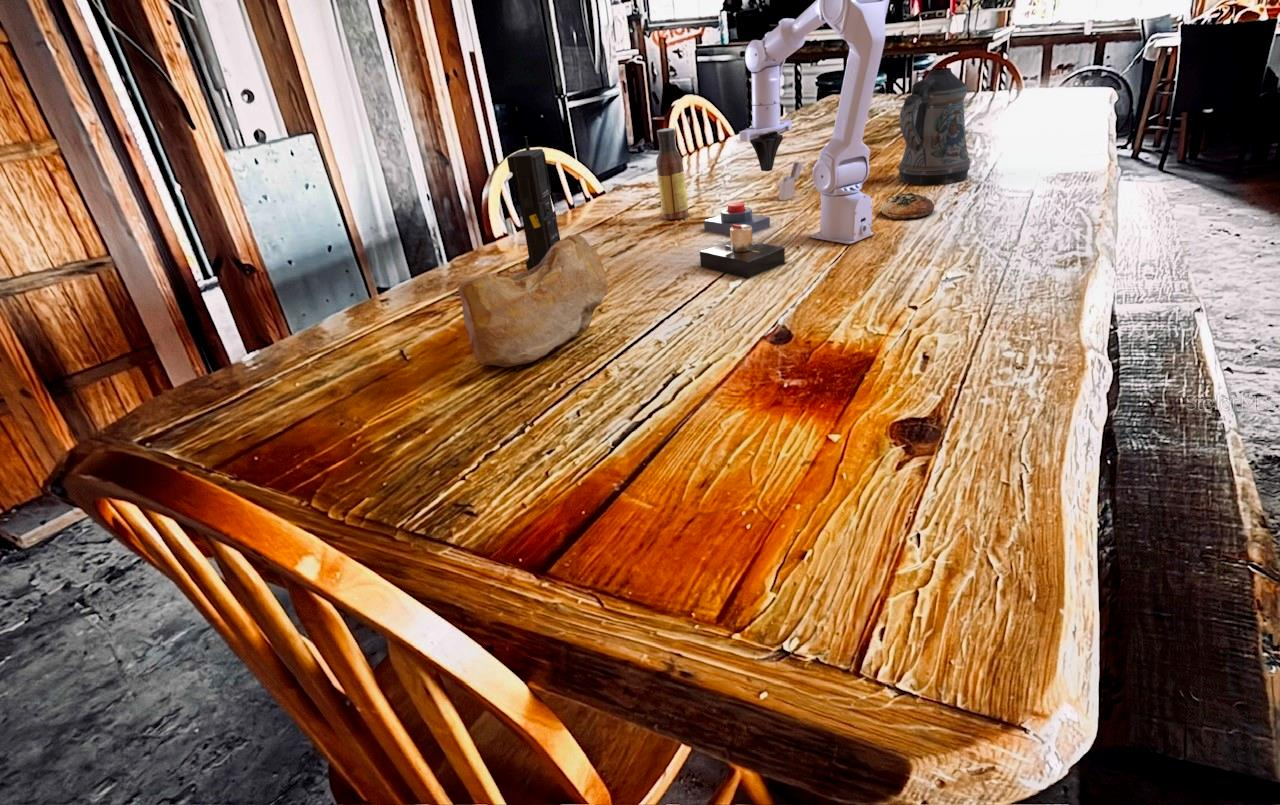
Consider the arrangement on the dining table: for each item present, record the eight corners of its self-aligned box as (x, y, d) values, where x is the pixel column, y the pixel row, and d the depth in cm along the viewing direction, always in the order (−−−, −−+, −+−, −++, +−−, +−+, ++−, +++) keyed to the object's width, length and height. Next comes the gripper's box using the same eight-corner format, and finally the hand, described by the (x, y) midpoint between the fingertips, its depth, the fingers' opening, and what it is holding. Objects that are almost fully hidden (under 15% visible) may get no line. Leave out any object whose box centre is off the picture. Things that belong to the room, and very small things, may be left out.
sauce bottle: (688, 213, 170) (683, 125, 160) (687, 219, 164) (682, 129, 155) (661, 215, 171) (654, 128, 161) (660, 221, 165) (652, 132, 156)
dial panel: (784, 263, 130) (784, 246, 128) (748, 278, 124) (747, 261, 123) (736, 253, 138) (736, 237, 137) (700, 266, 133) (699, 250, 131)
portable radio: (555, 278, 135) (533, 141, 124) (526, 278, 137) (501, 143, 125) (566, 265, 142) (547, 134, 130) (538, 266, 143) (516, 136, 132)
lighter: (784, 200, 171) (784, 166, 168) (778, 199, 173) (778, 166, 169) (802, 194, 175) (802, 161, 172) (796, 193, 176) (797, 160, 173)
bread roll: (946, 212, 148) (945, 188, 145) (903, 229, 145) (901, 205, 143) (910, 204, 157) (908, 182, 155) (868, 220, 155) (866, 198, 153)
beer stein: (974, 171, 179) (987, 62, 167) (959, 189, 165) (972, 71, 153) (906, 170, 187) (914, 67, 175) (887, 187, 173) (894, 76, 161)
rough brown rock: (568, 311, 121) (548, 224, 114) (627, 326, 108) (608, 230, 102) (446, 361, 109) (416, 267, 103) (496, 384, 97) (466, 280, 90)
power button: (748, 211, 151) (748, 203, 151) (736, 215, 150) (736, 206, 149) (735, 209, 154) (735, 201, 153) (724, 213, 152) (724, 205, 151)
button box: (770, 227, 152) (769, 208, 150) (741, 237, 147) (741, 218, 145) (732, 220, 160) (731, 202, 158) (704, 230, 155) (703, 212, 153)
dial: (757, 248, 129) (756, 224, 127) (742, 253, 127) (741, 230, 125) (740, 244, 132) (740, 221, 130) (726, 250, 130) (725, 227, 128)
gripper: (773, 98, 154) (774, 162, 161) (727, 108, 146) (730, 175, 153) (799, 98, 149) (799, 165, 156) (753, 109, 141) (754, 178, 148)
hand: (766, 170), depth 154 cm, fingers closed
